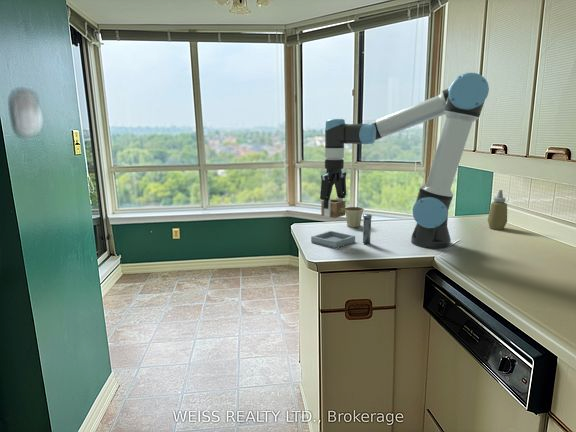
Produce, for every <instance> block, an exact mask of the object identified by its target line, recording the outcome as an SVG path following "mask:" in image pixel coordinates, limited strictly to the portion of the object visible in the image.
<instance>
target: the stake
mask: <svg viewBox="0 0 576 432" xmlns="http://www.w3.org/2000/svg"><path fill="white" fill-rule="evenodd" d="M372 217H373V215H372V214H369V213H368V214H367V213H365V214H362V218H363V222H362V223H363V225H362V226H363V229H362V230H363V231H362V244H363V243H364V244H363V245H366V244H369V245H371V238H372V237H371V235H372V234H371V232H372V231H371V230H372Z"/></svg>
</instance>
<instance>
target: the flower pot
mask: <svg viewBox="0 0 576 432" xmlns="http://www.w3.org/2000/svg"><path fill="white" fill-rule="evenodd" d="M364 210H365V208H364V207H360V206H348V207H345V218H346V225H347V227H349V228H360V227H361V221H362V218H363V212H364ZM359 226H360V227H359Z"/></svg>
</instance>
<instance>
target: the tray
mask: <svg viewBox="0 0 576 432" xmlns="http://www.w3.org/2000/svg"><path fill="white" fill-rule="evenodd" d="M310 238H311V239H310V240H311V241H310V242H311V243H312V244H315V245H316V244H317V245H320V246H323V245H325V246H324V247H327V246H329V247H328V248H331V247H333V249H335V248H337V249H338V247H339V248H341V247H340V246H342V247H344V246H343V245H345V246H347V245H350V244H352V243H351V242H353V243H355V242H356V236H355V235H353V234H352V235H351V234H348V233H343V232H338V231H334V230H329V231H326V232H322V233H319V234H316V235H312V236H311V237H310ZM354 241H355V242H354ZM349 243H350V244H349ZM346 244H347V245H346Z"/></svg>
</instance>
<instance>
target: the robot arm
mask: <svg viewBox="0 0 576 432" xmlns="http://www.w3.org/2000/svg"><path fill="white" fill-rule="evenodd" d="M489 90H490V85H489V83H488V81H487V79H486V78H485V77H484V76H483V75H482V74H479V73H477V72H466V73H462V74H460V75H458V76H457V77H456V78H454V80H453V81H452V83H451V84H450V85H449V87H448V88H446V89H444V90H441V92H440V93H439V94H438V95H437V96H436V95H435V96H434V97H431V98H428V99H425V100H423V101H421V102H418V103H415V104H413V105H411V106H408V107H406V108H404V109H400V110H398V111H396V112H393V113H390V114H388V115H385V116H384V117H381V118H378V119H376V120H373V121H371V122H367V123H349V124H348V123H346V122H345V119H343V118H328V119H326V121H325V129H324V148H325V149H324V158H325V159H324V168H325V170H326V171H325V174H321V175H320V179H321V180H320V181H321V183H320V194H319V199H320V200H321V201H324V216H323V217H327V218H331V217H330V215H331V201H329V199H331V195H332V190H333V187H334V188H335V191H336V196H337V197H336V198H335V199H336V200H343V201H344V199H346V196H347V181H346V179H347V178H346V177H347V172H345V171H342V170H343V169H344V168H345V167H344V166H345V165H344V157H345V145H346V144H347V145H349V144H350V145H372V144H374V143H375V141H377V140H380V139H382V138H384V137H388V136H391V135H392V134H395V133H398V132H401V131H403V130H406V129H408V128H411V127H415V126H417V125H420V124H423V123H425V122H428V121H431V120H434V119H436V118H439V117H441V116H444V115H445V116H446V117H445V118H446V119H445V120H444V124H443V128H442V131H441V133H440V137H439V140H438V144H437V147H436V150H435V153H434V156H433V161H432V162H431V167H430V170H429V173H428V177H427V180H426V183H424V184H423V185H420V188H419V189H418V193H417V197H416V201H415V203H414V204H413V206H412V216H413V219H414V221H415V222H416V224H415V228H414V230H413V231H412V234H411V239H410V242H411V243H412V244H413V245H416V246H418V247H423V248H427V247H428V248H429V249H445V248H448V247H450V246H451V241H452V240H451V239H452V238H451V235H450V231H449V228H448V219H449V218H448V217H449V209H450V206H451V204H452V200H453V197H454V194H453V192H452V186H453V183H454V180H455V178H456V177H455V176H456V173H457V170H458V168H459V165H460V161H461V159H462V156H463V152H464V150H465V146H466V144H467V141H468V137H469V134H470V132H471V129H472V125H473V123H474V122H476V121H477V120H479V118H480V116H481V114H482V110H483V107H484V105H485V102H486V99H487V98H488V96H489Z"/></svg>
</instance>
